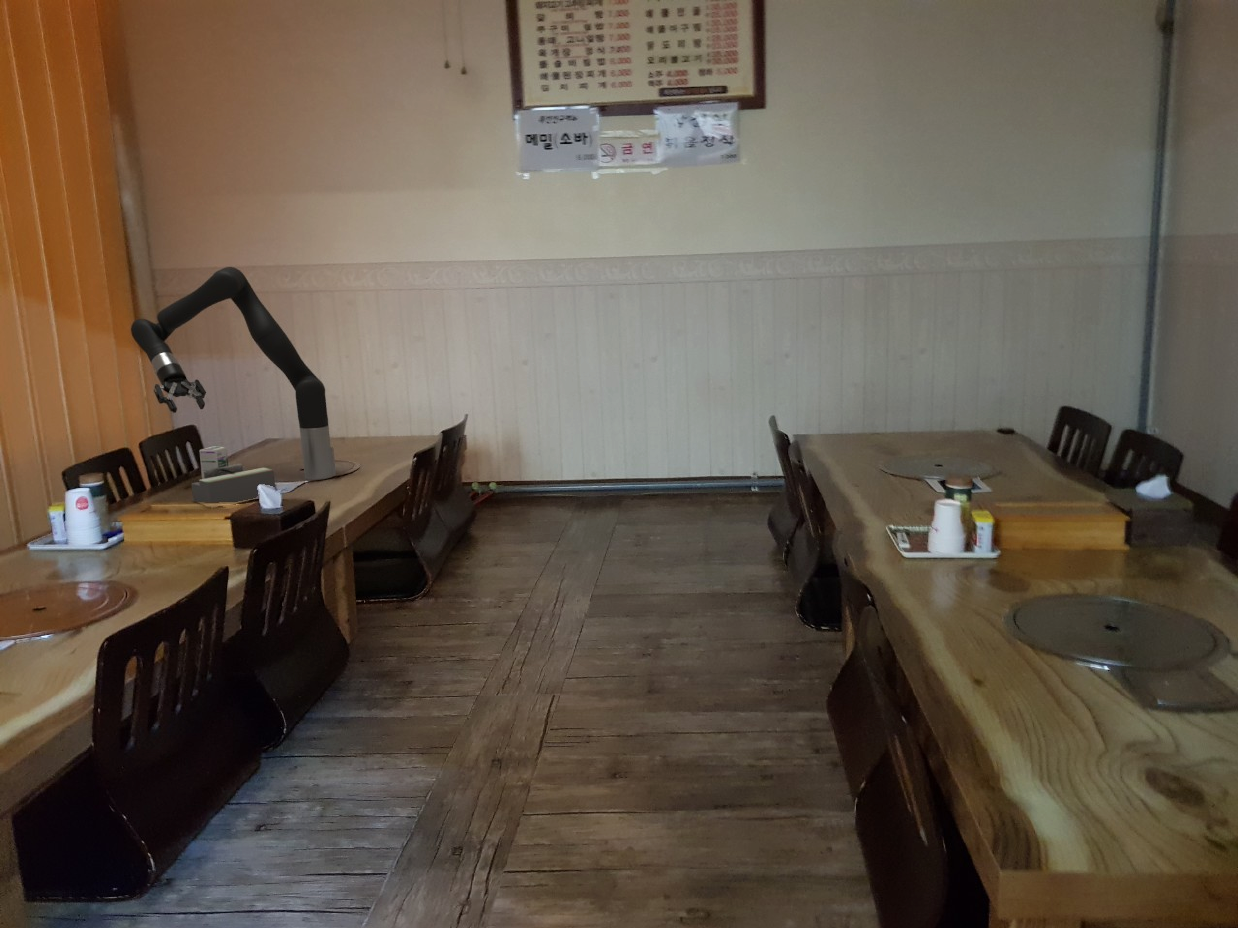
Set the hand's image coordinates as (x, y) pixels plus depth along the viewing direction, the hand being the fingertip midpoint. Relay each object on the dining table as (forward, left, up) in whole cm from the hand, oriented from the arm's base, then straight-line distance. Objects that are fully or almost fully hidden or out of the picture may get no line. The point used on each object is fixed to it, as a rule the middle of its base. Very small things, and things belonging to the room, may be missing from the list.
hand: (189, 409), depth 306 cm
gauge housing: (0, +23, -25) cm, 35 cm away
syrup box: (0, +12, -26) cm, 28 cm away
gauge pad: (0, +21, -24) cm, 32 cm away
